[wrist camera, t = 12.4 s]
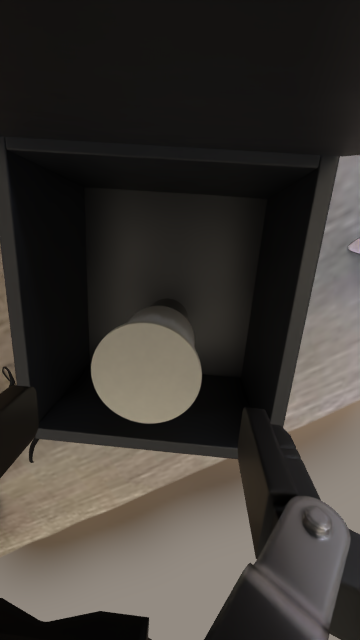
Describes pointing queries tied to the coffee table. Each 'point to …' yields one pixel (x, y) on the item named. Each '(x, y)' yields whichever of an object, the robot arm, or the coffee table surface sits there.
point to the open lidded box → (159, 276)
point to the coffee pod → (148, 366)
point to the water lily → (355, 246)
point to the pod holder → (172, 305)
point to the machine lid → (184, 73)
